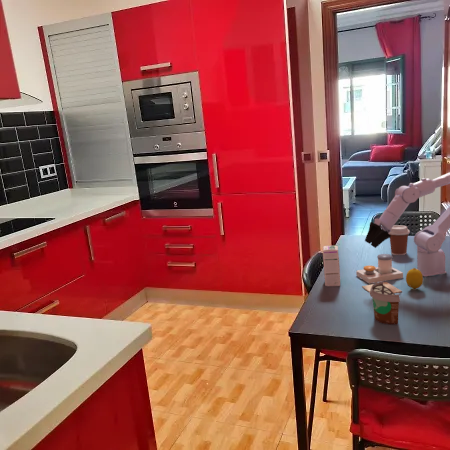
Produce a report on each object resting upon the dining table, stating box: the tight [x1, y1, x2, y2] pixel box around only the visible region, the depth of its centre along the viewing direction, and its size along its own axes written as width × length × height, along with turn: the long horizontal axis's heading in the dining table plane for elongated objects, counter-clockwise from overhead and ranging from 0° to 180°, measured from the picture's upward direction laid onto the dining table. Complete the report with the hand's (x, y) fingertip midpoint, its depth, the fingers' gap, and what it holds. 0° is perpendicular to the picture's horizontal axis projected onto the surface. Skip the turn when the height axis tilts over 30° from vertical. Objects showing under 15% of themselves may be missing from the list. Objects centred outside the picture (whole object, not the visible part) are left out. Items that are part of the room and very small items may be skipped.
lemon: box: [405, 267, 424, 291], centre depth 157 cm, size 6×6×8 cm
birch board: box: [361, 281, 403, 295], centre depth 161 cm, size 10×10×1 cm
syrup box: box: [322, 244, 341, 287], centre depth 170 cm, size 6×6×14 cm
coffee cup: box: [389, 224, 411, 256], centre depth 197 cm, size 9×9×12 cm
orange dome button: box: [363, 265, 376, 275], centre depth 172 cm, size 4×4×3 cm
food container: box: [369, 281, 401, 326], centre depth 138 cm, size 12×6×10 cm, turn 5°
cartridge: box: [376, 253, 393, 275], centre depth 173 cm, size 5×5×8 cm
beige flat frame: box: [355, 266, 404, 285], centre depth 173 cm, size 14×10×2 cm
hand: (370, 244), depth 168 cm, fingers open, 7 cm apart
